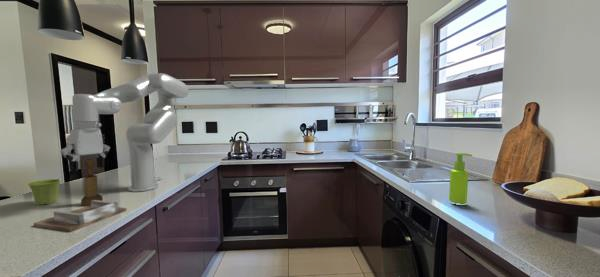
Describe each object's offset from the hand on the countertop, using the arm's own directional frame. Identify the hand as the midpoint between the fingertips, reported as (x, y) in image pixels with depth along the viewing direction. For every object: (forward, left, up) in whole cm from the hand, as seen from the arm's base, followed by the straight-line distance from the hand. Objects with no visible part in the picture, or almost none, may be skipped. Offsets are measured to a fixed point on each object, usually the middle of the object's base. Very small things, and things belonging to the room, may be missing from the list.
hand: (88, 169), depth 99 cm
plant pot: (+3, -19, -14) cm, 24 cm away
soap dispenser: (-37, +142, -14) cm, 147 cm away
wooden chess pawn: (-1, 0, -14) cm, 14 cm away
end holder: (+11, +13, -14) cm, 22 cm away
